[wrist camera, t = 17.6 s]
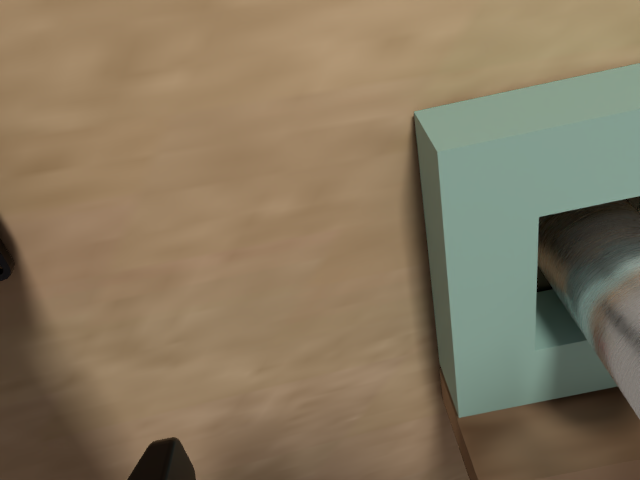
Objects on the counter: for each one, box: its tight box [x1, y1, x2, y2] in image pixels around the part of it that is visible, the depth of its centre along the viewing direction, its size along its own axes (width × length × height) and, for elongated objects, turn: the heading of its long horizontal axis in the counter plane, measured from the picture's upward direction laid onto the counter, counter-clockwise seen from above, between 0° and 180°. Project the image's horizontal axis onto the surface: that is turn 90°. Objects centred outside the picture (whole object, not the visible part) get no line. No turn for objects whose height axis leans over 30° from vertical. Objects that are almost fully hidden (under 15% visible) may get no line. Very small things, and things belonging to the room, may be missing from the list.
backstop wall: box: [439, 369, 640, 480], centre depth 25 cm, size 12×2×6 cm, turn 101°
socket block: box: [414, 63, 640, 418], centre depth 21 cm, size 12×12×3 cm
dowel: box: [537, 199, 640, 419], centre depth 20 cm, size 4×4×8 cm
